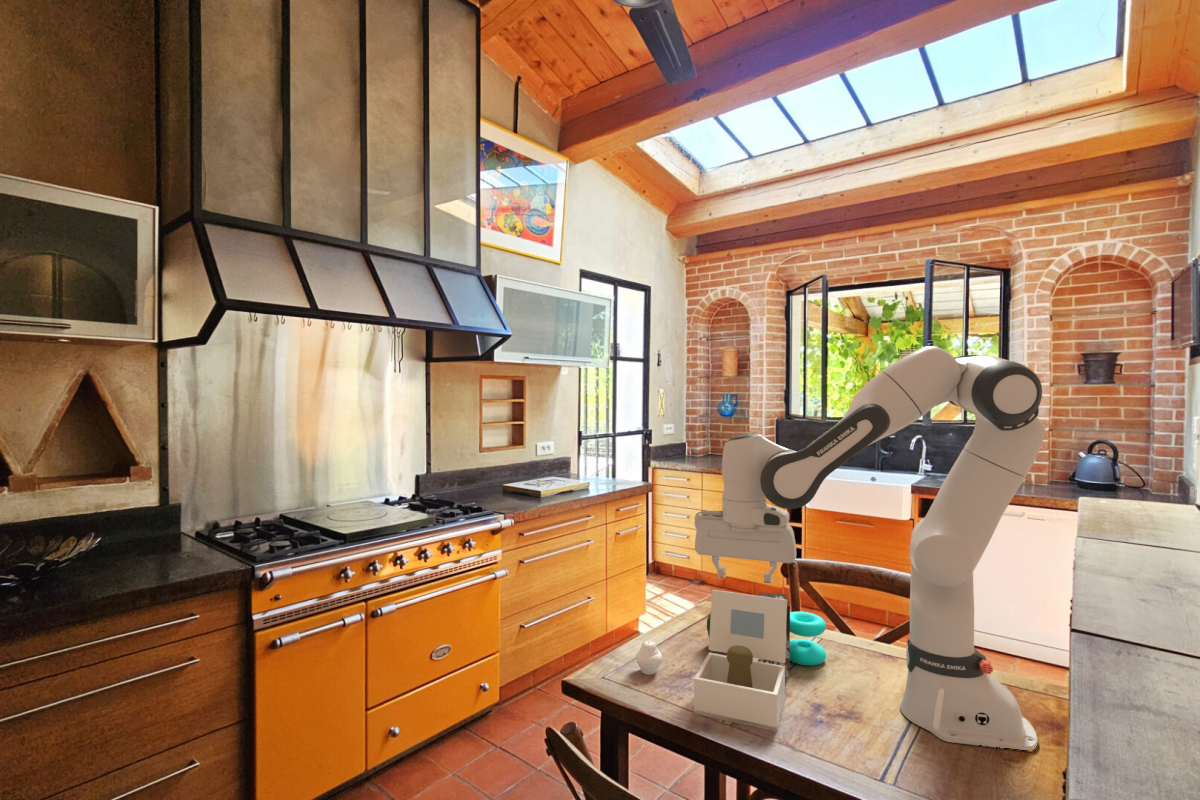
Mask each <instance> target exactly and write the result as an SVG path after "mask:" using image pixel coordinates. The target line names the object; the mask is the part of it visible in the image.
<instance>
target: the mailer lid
mask: <svg viewBox="0 0 1200 800" xmlns="http://www.w3.org/2000/svg"><path fill="white" fill-rule="evenodd" d="M710 605H711V606H710V614H711V618H710V636H708V640H709V641H708V650H709V651H714V652H719V653H725V654H727V652H728V649H729V648H730V647H732V646H744V647H747V648H748V649H750V651H751V652H752V655H753V659H764V660H770V661H775V662H781V663H785V651H786V618H787V600H785V599H778V598H770V597H763V596H759V595H755V594H747V593H740V592H731V591H725V590H717V589H711V603H710Z"/></svg>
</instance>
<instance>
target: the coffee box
mask: <svg viewBox="0 0 1200 800" xmlns="http://www.w3.org/2000/svg"><path fill="white" fill-rule="evenodd" d="M758 596H763V597H770V598H778V599H785V600H787V618H786V651H785V663H781V662H775V661H770V660H764V659H759V662H764V663H769V664H775V665H780V666H785V678H789V677H790V662H791V661H790V640H791V637H790V636H791V635H790V634H791V632H790V612H791V604H790V602H789V599H788V596H787V594H786V593H778V592H777V593H775V592H774V593H773V592H768V593H767V592H759V594H758Z"/></svg>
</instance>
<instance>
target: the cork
mask: <svg viewBox="0 0 1200 800" xmlns="http://www.w3.org/2000/svg"><path fill="white" fill-rule="evenodd" d="M726 656H727V660H728V662H729V671H728V678H727V683H729V684H734V685H739V686H745V687H750V688H753V686H752V678H751V670H750V665H751V664H752V661H754V660H753V659H754V658H753V655H752V652H751V651H750V649H748V648H747V647H744V646H732V647H730V648H729V649H728V652H727V653H726Z"/></svg>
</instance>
